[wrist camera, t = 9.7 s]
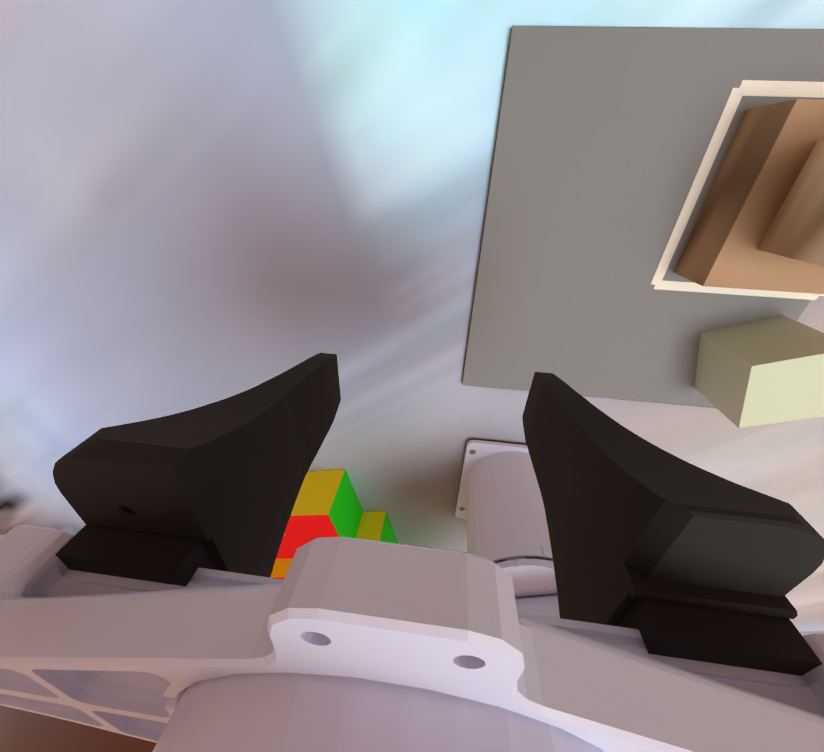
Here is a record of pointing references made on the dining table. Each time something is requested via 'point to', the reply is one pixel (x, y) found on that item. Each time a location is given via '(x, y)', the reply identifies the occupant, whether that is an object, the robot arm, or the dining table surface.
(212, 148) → the dining table surface
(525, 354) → the mat
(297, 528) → the building blocks toy
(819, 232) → the beech block
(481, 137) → the dining table surface
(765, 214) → the walnut slab
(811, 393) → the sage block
